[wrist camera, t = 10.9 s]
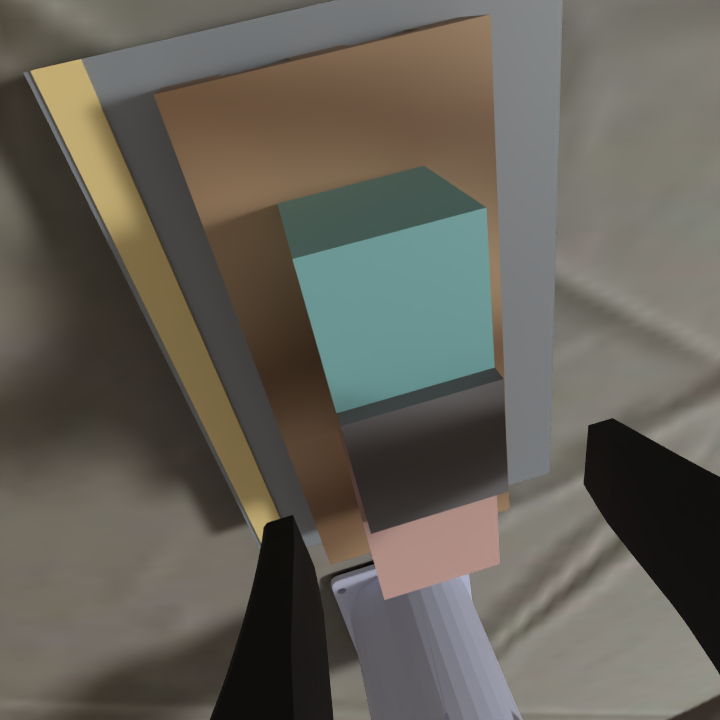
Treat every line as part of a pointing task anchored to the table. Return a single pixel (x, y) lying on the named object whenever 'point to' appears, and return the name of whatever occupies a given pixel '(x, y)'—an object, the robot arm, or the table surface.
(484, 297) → the block
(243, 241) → the pallet
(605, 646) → the table surface
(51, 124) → the grey flat block
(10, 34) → the table surface
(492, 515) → the crate rose
